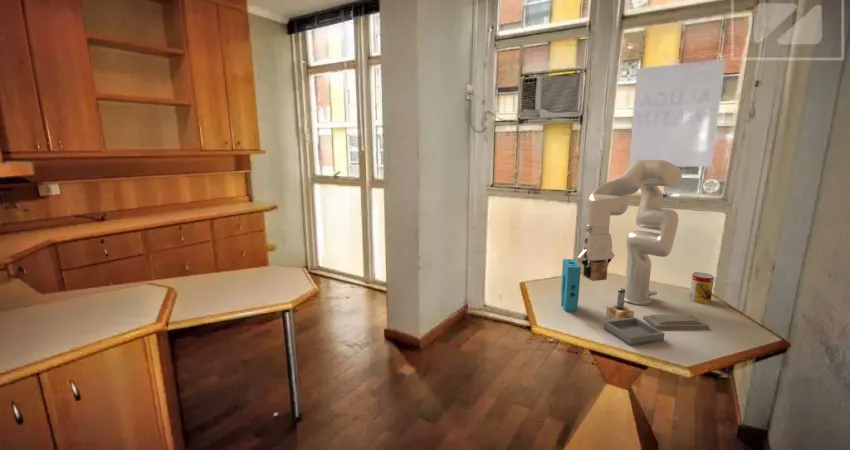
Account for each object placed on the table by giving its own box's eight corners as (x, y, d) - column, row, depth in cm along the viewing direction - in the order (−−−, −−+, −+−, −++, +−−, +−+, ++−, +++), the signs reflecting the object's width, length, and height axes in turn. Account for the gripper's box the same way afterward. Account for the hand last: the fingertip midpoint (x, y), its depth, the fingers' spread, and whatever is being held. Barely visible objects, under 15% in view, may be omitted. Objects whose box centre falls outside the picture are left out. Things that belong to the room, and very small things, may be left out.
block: (578, 313, 164) (581, 267, 161) (565, 313, 165) (568, 267, 161) (571, 302, 176) (574, 259, 172) (559, 302, 177) (562, 259, 173)
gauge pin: (619, 315, 162) (622, 287, 160) (624, 318, 160) (626, 290, 157) (614, 316, 162) (617, 288, 159) (618, 318, 159) (621, 290, 157)
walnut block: (596, 274, 157) (597, 257, 156) (606, 279, 151) (607, 261, 150) (583, 276, 156) (584, 258, 154) (592, 281, 150) (594, 263, 148)
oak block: (620, 313, 165) (621, 304, 164) (633, 320, 158) (634, 310, 157) (606, 314, 163) (606, 305, 162) (618, 322, 156) (619, 312, 156)
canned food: (714, 304, 173) (718, 277, 171) (695, 303, 174) (698, 277, 172) (704, 297, 181) (707, 272, 178) (685, 296, 182) (688, 271, 179)
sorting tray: (634, 324, 154) (635, 317, 154) (663, 341, 141) (664, 333, 140) (603, 328, 151) (603, 321, 150) (630, 346, 138) (630, 338, 137)
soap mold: (709, 331, 149) (710, 322, 149) (656, 331, 149) (657, 323, 149) (691, 319, 159) (692, 311, 159) (641, 319, 160) (642, 311, 159)
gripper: (583, 233, 144) (580, 280, 148) (624, 230, 148) (620, 276, 152) (571, 229, 151) (569, 274, 155) (611, 226, 155) (607, 270, 159)
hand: (594, 275), depth 153 cm, fingers closed on walnut block, 6 cm apart
